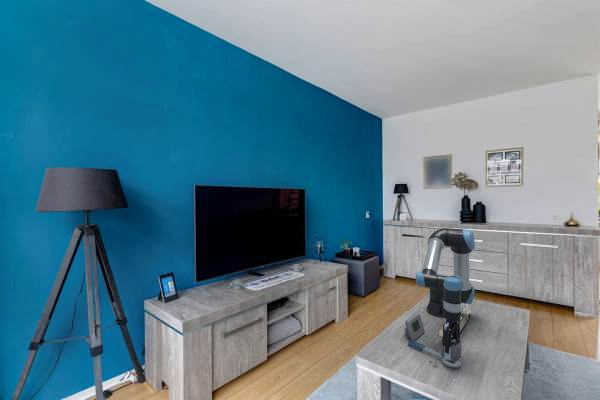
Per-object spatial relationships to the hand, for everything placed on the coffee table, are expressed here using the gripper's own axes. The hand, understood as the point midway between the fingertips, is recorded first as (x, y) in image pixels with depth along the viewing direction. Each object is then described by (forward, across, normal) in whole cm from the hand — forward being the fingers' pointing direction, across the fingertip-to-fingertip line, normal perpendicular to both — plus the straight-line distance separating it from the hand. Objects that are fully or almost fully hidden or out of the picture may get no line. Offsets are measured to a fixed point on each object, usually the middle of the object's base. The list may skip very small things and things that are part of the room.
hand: (451, 356), depth 136 cm
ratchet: (+4, 0, -9) cm, 10 cm away
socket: (0, 0, 0) cm, 0 cm away
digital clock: (+4, -12, -26) cm, 28 cm away
